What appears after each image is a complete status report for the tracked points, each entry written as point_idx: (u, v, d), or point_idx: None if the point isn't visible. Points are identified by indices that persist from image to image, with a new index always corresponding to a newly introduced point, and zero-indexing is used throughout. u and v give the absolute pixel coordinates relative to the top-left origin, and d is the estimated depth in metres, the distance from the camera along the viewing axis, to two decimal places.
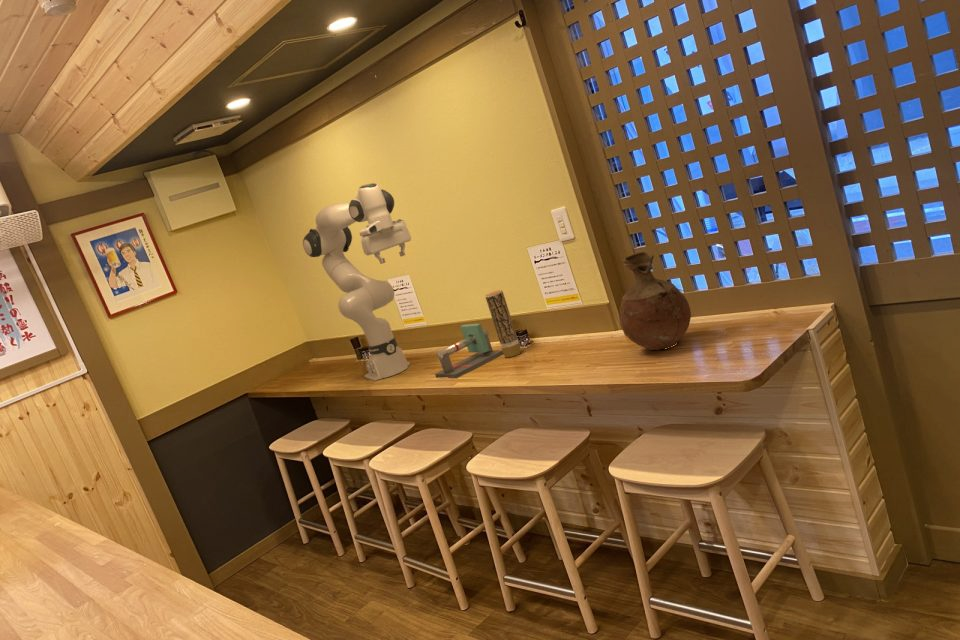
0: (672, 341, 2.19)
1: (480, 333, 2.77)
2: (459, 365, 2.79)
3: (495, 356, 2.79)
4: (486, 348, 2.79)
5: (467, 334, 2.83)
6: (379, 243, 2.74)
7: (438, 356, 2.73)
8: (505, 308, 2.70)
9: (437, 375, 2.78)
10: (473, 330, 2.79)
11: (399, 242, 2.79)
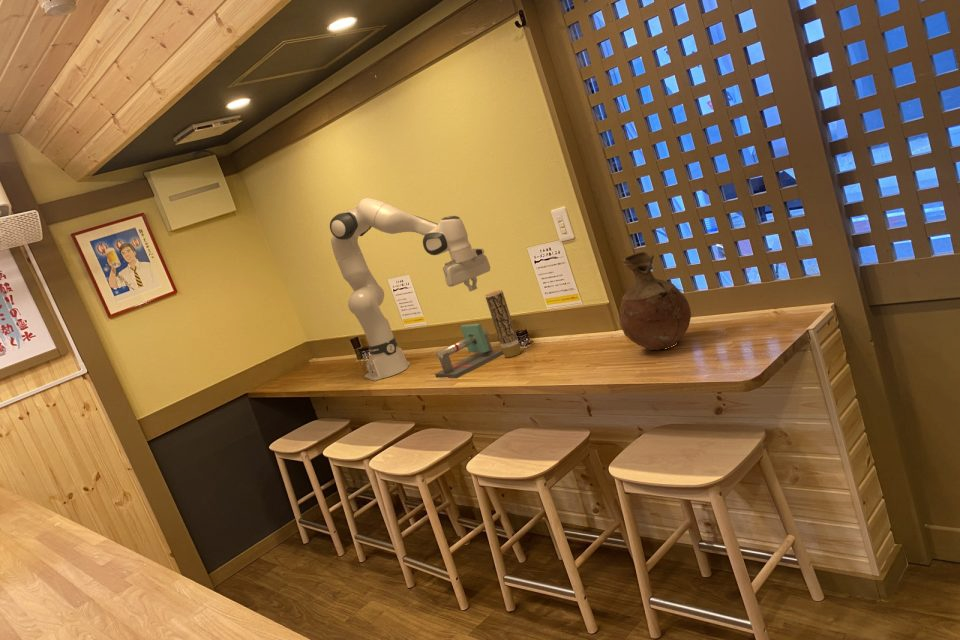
0: (672, 341, 2.19)
1: (480, 333, 2.77)
2: (459, 365, 2.79)
3: (495, 356, 2.79)
4: (486, 348, 2.79)
5: (467, 334, 2.83)
6: None
7: (438, 356, 2.73)
8: (505, 308, 2.70)
9: (437, 375, 2.78)
10: (473, 330, 2.79)
11: None
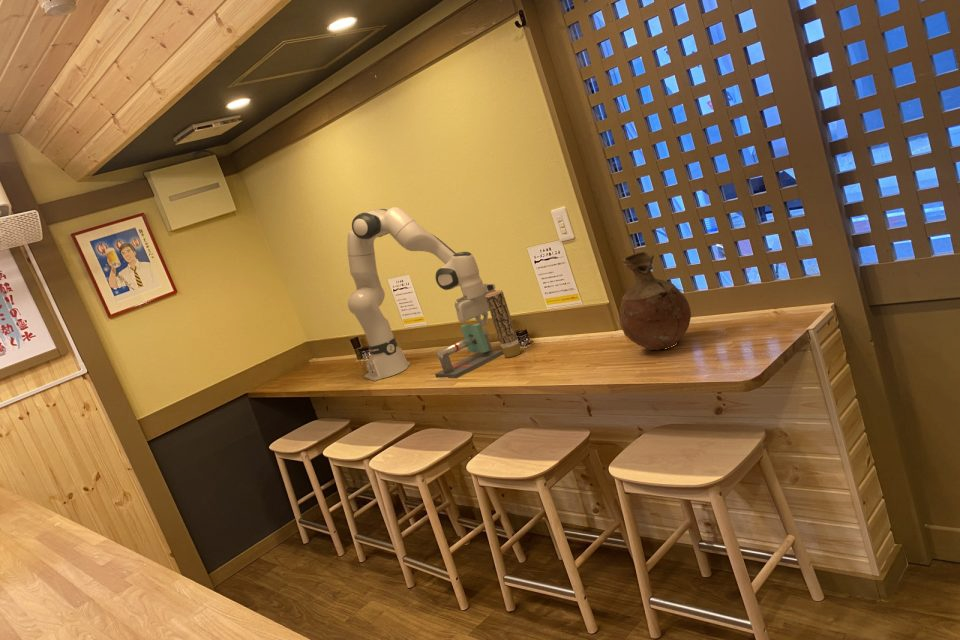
0: (672, 341, 2.19)
1: (480, 333, 2.77)
2: (459, 365, 2.79)
3: (495, 356, 2.79)
4: (486, 348, 2.79)
5: (467, 334, 2.83)
6: None
7: (438, 356, 2.73)
8: (505, 308, 2.70)
9: (437, 375, 2.78)
10: (473, 330, 2.79)
11: None
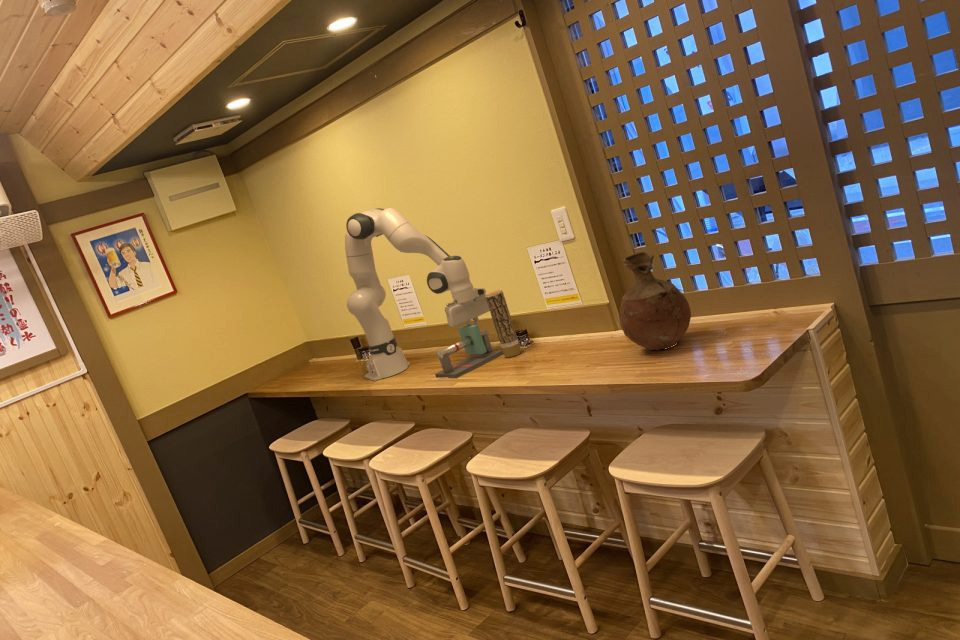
0: (672, 341, 2.19)
1: (477, 334, 2.77)
2: (459, 365, 2.79)
3: (495, 356, 2.79)
4: (483, 349, 2.78)
5: (464, 335, 2.83)
6: None
7: (438, 356, 2.73)
8: (505, 308, 2.70)
9: (437, 375, 2.78)
10: (471, 332, 2.78)
11: None
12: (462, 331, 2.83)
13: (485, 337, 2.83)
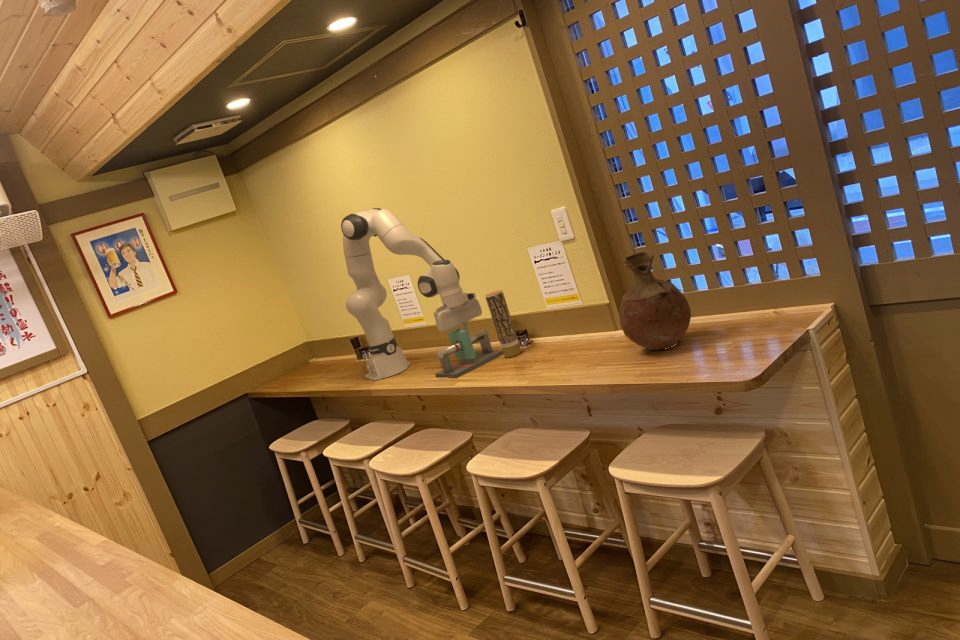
0: (672, 341, 2.19)
1: (467, 339, 2.74)
2: (459, 365, 2.79)
3: (495, 356, 2.79)
4: (473, 354, 2.75)
5: (454, 340, 2.80)
6: None
7: (438, 356, 2.73)
8: (505, 308, 2.70)
9: (437, 375, 2.78)
10: (460, 336, 2.75)
11: None
12: (452, 336, 2.80)
13: (485, 337, 2.83)
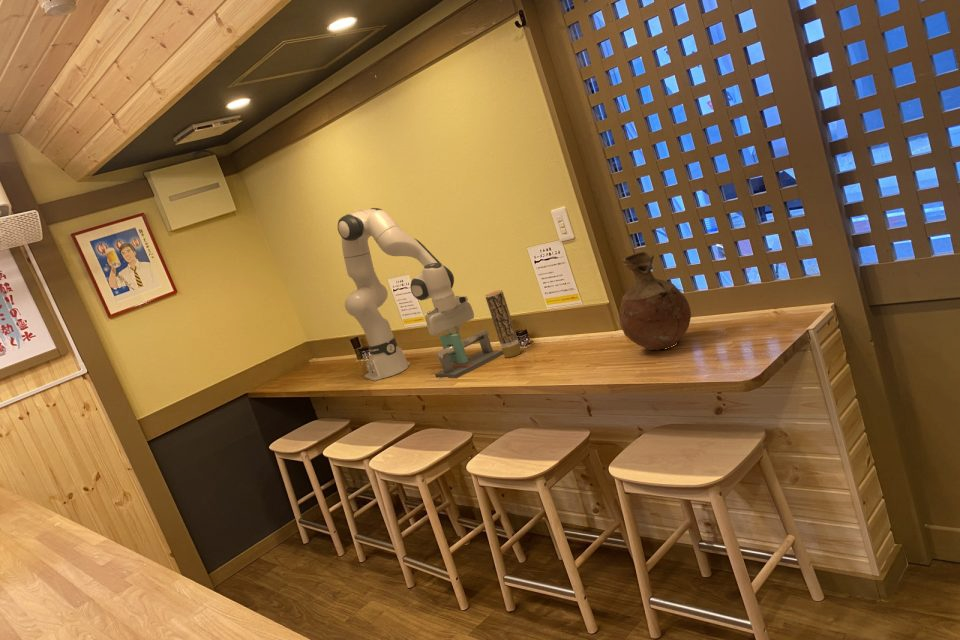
0: (672, 341, 2.19)
1: (459, 343, 2.71)
2: (459, 365, 2.79)
3: (495, 356, 2.79)
4: (465, 359, 2.73)
5: (446, 344, 2.77)
6: None
7: (438, 356, 2.73)
8: (505, 308, 2.70)
9: (437, 375, 2.78)
10: (452, 340, 2.73)
11: None
12: (443, 340, 2.78)
13: (485, 337, 2.83)
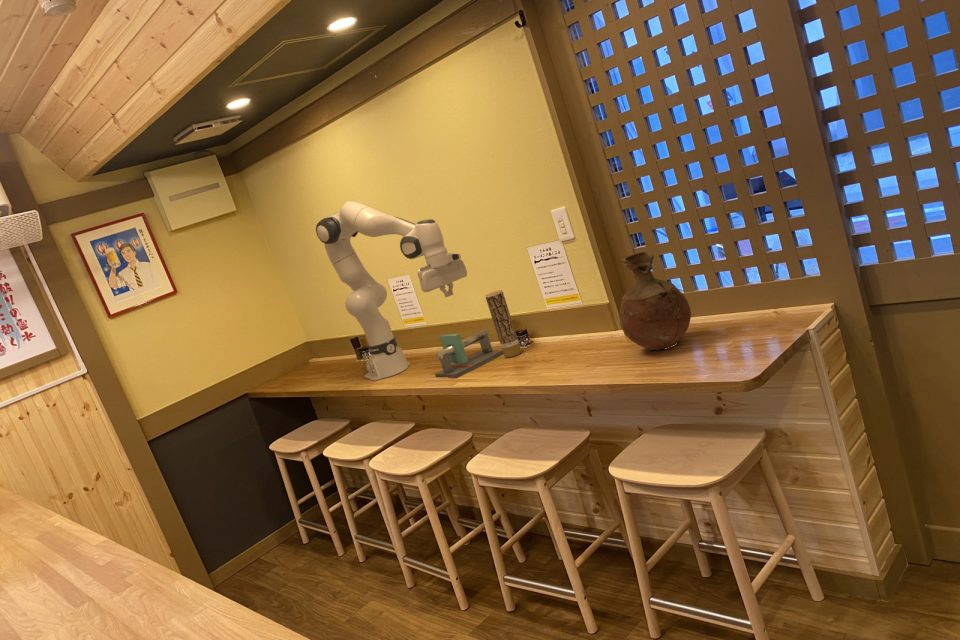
0: (672, 341, 2.19)
1: (459, 343, 2.71)
2: (459, 365, 2.79)
3: (495, 356, 2.79)
4: (465, 359, 2.73)
5: (446, 344, 2.77)
6: None
7: (438, 356, 2.73)
8: (505, 308, 2.70)
9: (437, 375, 2.78)
10: (452, 340, 2.73)
11: None
12: (443, 340, 2.78)
13: (485, 337, 2.83)
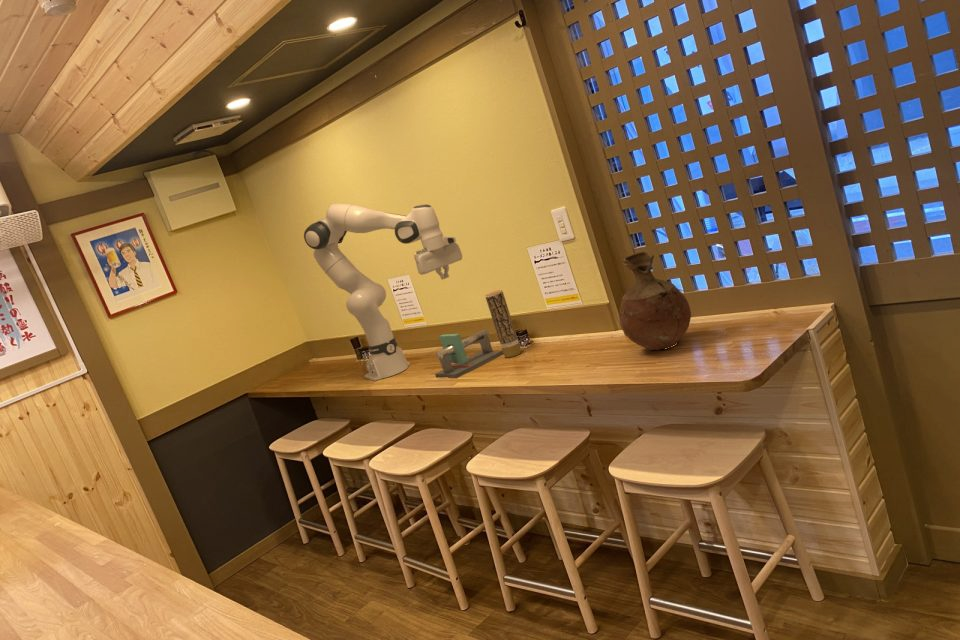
0: (672, 341, 2.19)
1: (459, 343, 2.71)
2: (459, 365, 2.79)
3: (495, 356, 2.79)
4: (465, 359, 2.73)
5: (446, 344, 2.77)
6: None
7: (438, 356, 2.73)
8: (505, 308, 2.70)
9: (437, 375, 2.78)
10: (452, 340, 2.73)
11: None
12: (443, 340, 2.78)
13: (485, 337, 2.83)
